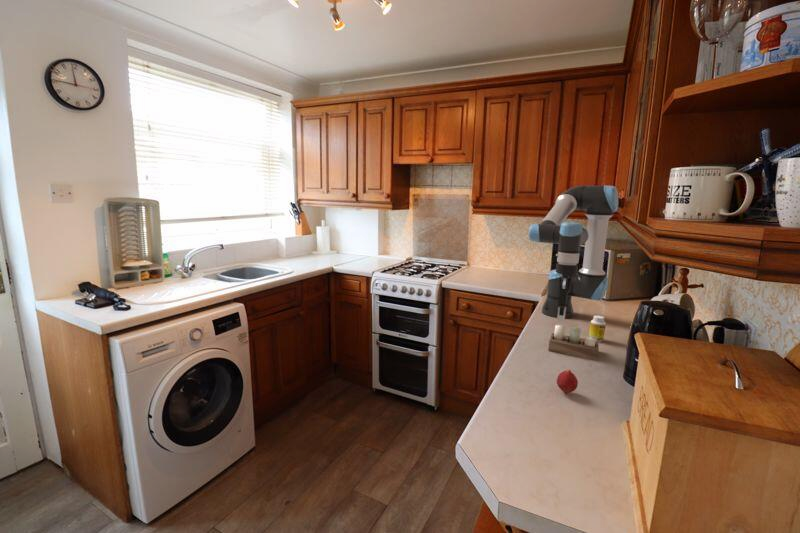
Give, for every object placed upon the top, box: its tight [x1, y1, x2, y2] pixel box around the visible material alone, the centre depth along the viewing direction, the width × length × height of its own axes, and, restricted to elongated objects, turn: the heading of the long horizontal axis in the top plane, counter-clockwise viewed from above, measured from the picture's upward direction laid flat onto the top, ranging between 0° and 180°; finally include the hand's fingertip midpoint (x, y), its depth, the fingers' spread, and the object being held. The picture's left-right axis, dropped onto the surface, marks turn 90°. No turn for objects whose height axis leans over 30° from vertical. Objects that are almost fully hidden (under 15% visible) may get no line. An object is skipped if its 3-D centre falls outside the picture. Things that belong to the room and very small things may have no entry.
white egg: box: [584, 336, 596, 347], centre depth 145 cm, size 4×4×5 cm
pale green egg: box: [568, 326, 581, 344], centre depth 146 cm, size 4×4×5 cm
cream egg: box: [554, 324, 566, 341], centre depth 149 cm, size 4×4×5 cm
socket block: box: [547, 332, 600, 361], centre depth 147 cm, size 10×17×4 cm, turn 63°
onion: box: [556, 368, 579, 395], centre depth 115 cm, size 6×6×8 cm
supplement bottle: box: [588, 315, 607, 343], centre depth 159 cm, size 6×6×10 cm
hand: (560, 322), depth 148 cm, fingers closed
